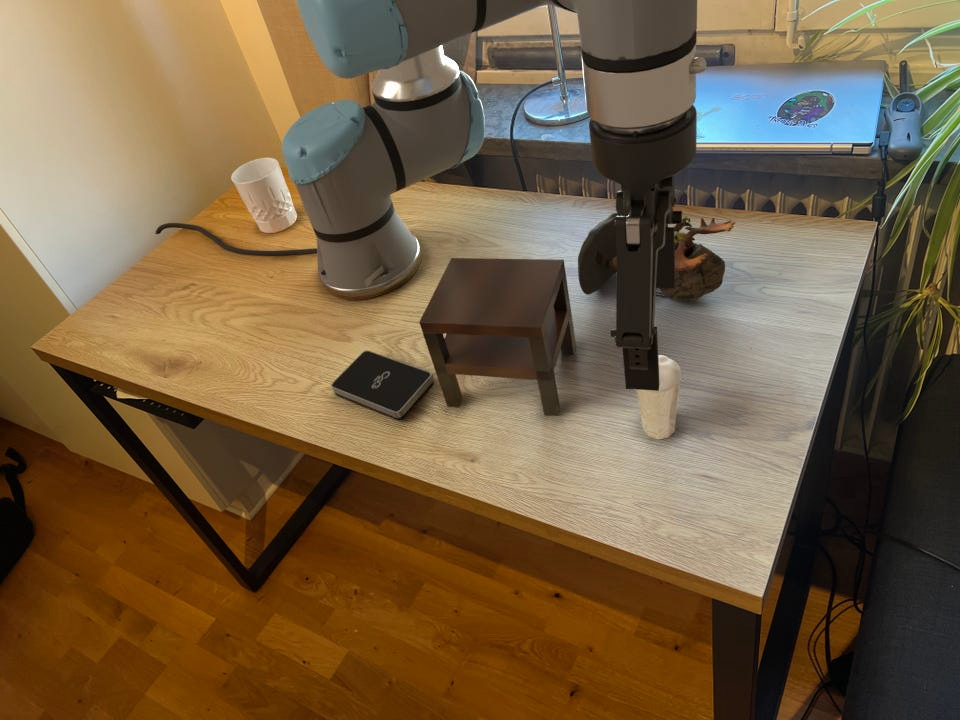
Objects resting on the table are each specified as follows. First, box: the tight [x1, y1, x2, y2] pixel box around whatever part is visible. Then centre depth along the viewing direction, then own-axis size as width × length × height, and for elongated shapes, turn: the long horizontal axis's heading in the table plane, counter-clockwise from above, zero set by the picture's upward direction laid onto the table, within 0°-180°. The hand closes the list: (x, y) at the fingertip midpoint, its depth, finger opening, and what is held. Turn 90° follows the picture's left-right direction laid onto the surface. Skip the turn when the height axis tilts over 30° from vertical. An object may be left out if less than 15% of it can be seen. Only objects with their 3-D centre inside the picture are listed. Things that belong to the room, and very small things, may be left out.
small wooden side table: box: [418, 257, 577, 417], centre depth 79 cm, size 13×11×13 cm
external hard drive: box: [330, 349, 435, 422], centre depth 85 cm, size 7×11×2 cm, turn 56°
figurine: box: [577, 212, 736, 302], centre depth 87 cm, size 14×10×18 cm
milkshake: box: [635, 354, 683, 441], centre depth 71 cm, size 4×5×10 cm
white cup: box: [230, 157, 298, 234], centre depth 118 cm, size 8×8×10 cm
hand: (652, 333), depth 65 cm, fingers open, 13 cm apart
